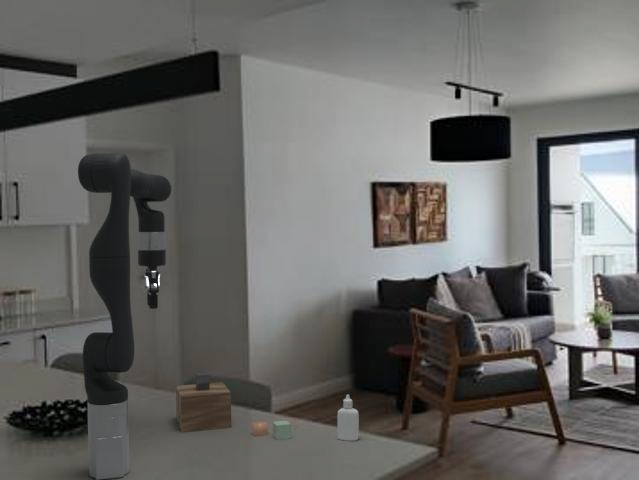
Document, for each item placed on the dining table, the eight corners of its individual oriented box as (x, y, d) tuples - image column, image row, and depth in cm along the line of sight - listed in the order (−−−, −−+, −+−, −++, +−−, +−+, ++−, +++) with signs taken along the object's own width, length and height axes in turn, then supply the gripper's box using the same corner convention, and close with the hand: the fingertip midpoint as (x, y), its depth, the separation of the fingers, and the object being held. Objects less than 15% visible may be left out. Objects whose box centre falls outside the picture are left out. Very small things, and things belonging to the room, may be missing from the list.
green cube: (291, 438, 198) (290, 424, 198) (276, 440, 197) (276, 425, 196) (287, 434, 202) (286, 420, 202) (273, 436, 200) (272, 421, 200)
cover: (231, 427, 209) (230, 377, 208) (181, 432, 204) (180, 380, 204) (223, 414, 222) (222, 367, 221) (176, 419, 218) (175, 370, 217)
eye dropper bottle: (346, 435, 200) (345, 391, 200) (361, 439, 196) (361, 395, 196) (335, 438, 197) (334, 394, 197) (350, 443, 193) (349, 398, 193)
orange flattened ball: (269, 435, 201) (269, 424, 201) (253, 437, 200) (253, 426, 200) (266, 431, 205) (265, 420, 205) (250, 432, 204) (250, 421, 204)
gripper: (167, 249, 196) (168, 309, 197) (163, 247, 210) (164, 304, 210) (139, 249, 194) (139, 310, 194) (136, 248, 208) (137, 304, 208)
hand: (152, 306), depth 202 cm, fingers open, 8 cm apart
